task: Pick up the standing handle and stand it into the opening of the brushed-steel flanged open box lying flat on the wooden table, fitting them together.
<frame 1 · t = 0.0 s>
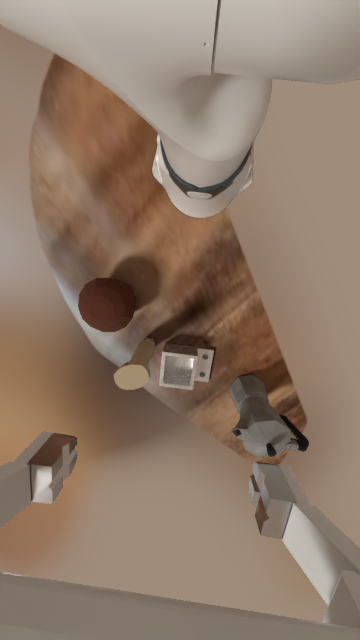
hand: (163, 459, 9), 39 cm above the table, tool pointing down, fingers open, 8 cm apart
handle: (149, 342, 51), on the table
muffin: (118, 299, 48), on the table
coffeepot: (250, 389, 53), on the table
flanged open box: (179, 361, 51), on the table
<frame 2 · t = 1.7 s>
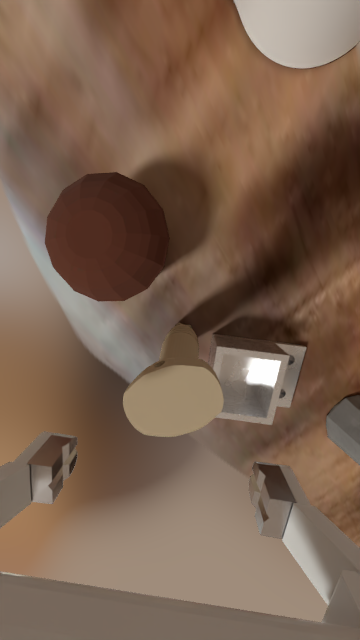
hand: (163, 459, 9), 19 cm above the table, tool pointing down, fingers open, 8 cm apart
handle: (182, 332, 28), on the table
muffin: (128, 249, 26), on the table
flanged open box: (236, 368, 28), on the table
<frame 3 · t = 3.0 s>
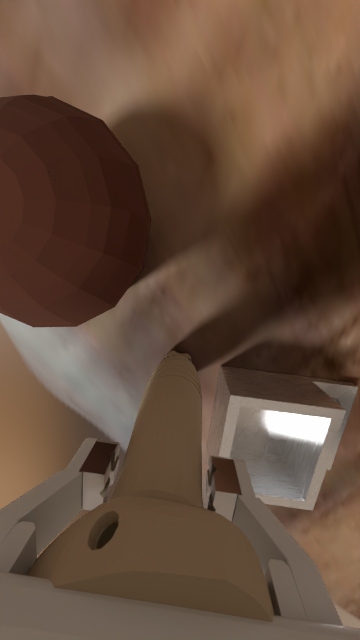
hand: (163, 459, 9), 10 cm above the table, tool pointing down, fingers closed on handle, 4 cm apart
handle: (177, 364, 19), on the table, touching gripper
muffin: (98, 244, 17), on the table
flanged open box: (254, 413, 20), on the table
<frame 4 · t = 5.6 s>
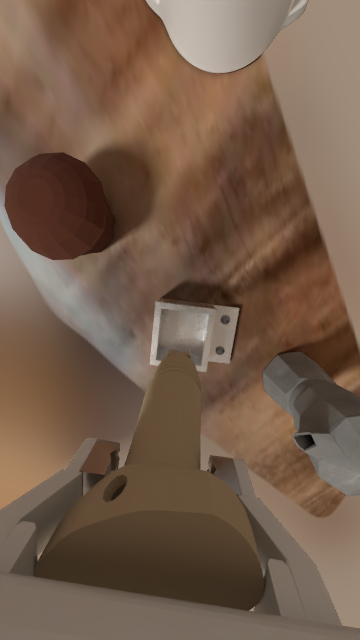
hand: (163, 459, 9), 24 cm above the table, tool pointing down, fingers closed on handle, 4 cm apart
handle: (178, 362, 20), point 12 cm above the table, touching gripper
muffin: (86, 223, 30), on the table
coffeepot: (295, 377, 33), on the table
flanged open box: (182, 328, 32), on the table
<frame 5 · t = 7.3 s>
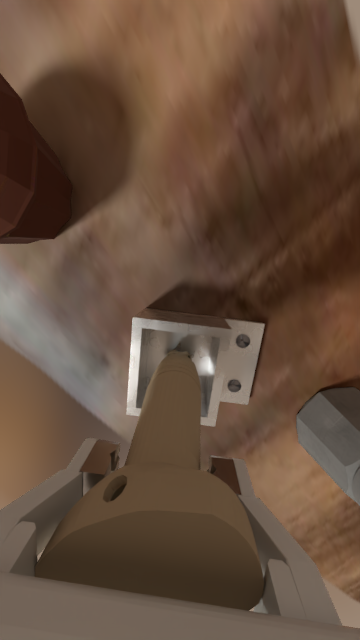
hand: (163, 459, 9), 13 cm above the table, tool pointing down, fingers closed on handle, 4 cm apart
handle: (178, 362, 20), point 2 cm above the table, touching gripper
muffin: (30, 194, 20), on the table
coffeepot: (344, 423, 23), on the table
flanged open box: (179, 353, 22), on the table
when the fingers open (12 cm above the table, at t = 8.3 s): handle stays where it is, resting on flanged open box.
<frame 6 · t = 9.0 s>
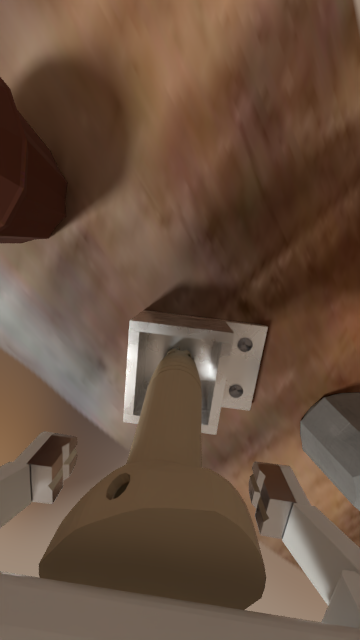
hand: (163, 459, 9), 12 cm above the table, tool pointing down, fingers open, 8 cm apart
handle: (178, 360, 21), point 1 cm above the table, touching flanged open box
muffin: (23, 192, 19), on the table
coffeepot: (349, 429, 22), on the table
flanged open box: (178, 357, 21), on the table
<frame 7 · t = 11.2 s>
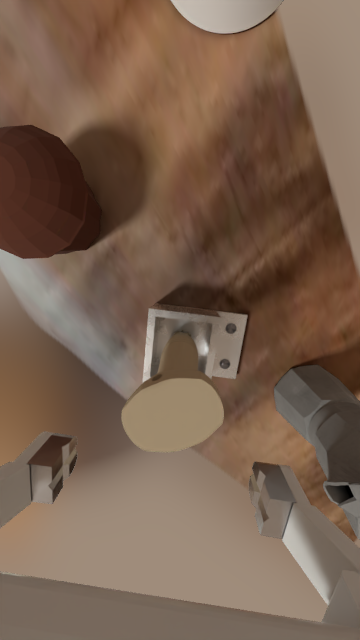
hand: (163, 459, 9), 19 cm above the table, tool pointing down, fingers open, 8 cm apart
handle: (181, 341, 27), point 1 cm above the table, touching flanged open box
muffin: (69, 216, 26), on the table
coffeepot: (311, 394, 29), on the table
flanged open box: (181, 338, 28), on the table
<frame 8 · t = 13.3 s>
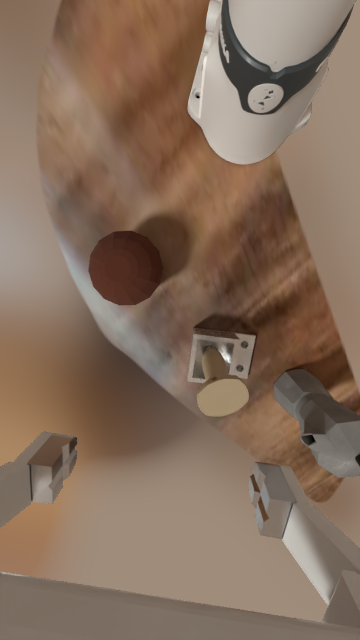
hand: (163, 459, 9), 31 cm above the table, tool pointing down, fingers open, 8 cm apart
handle: (210, 352, 40), point 1 cm above the table, touching flanged open box
muffin: (136, 270, 38), on the table
coffeepot: (299, 389, 42), on the table
flanged open box: (210, 351, 41), on the table
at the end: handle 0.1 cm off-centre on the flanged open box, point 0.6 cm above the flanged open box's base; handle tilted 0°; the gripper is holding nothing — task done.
